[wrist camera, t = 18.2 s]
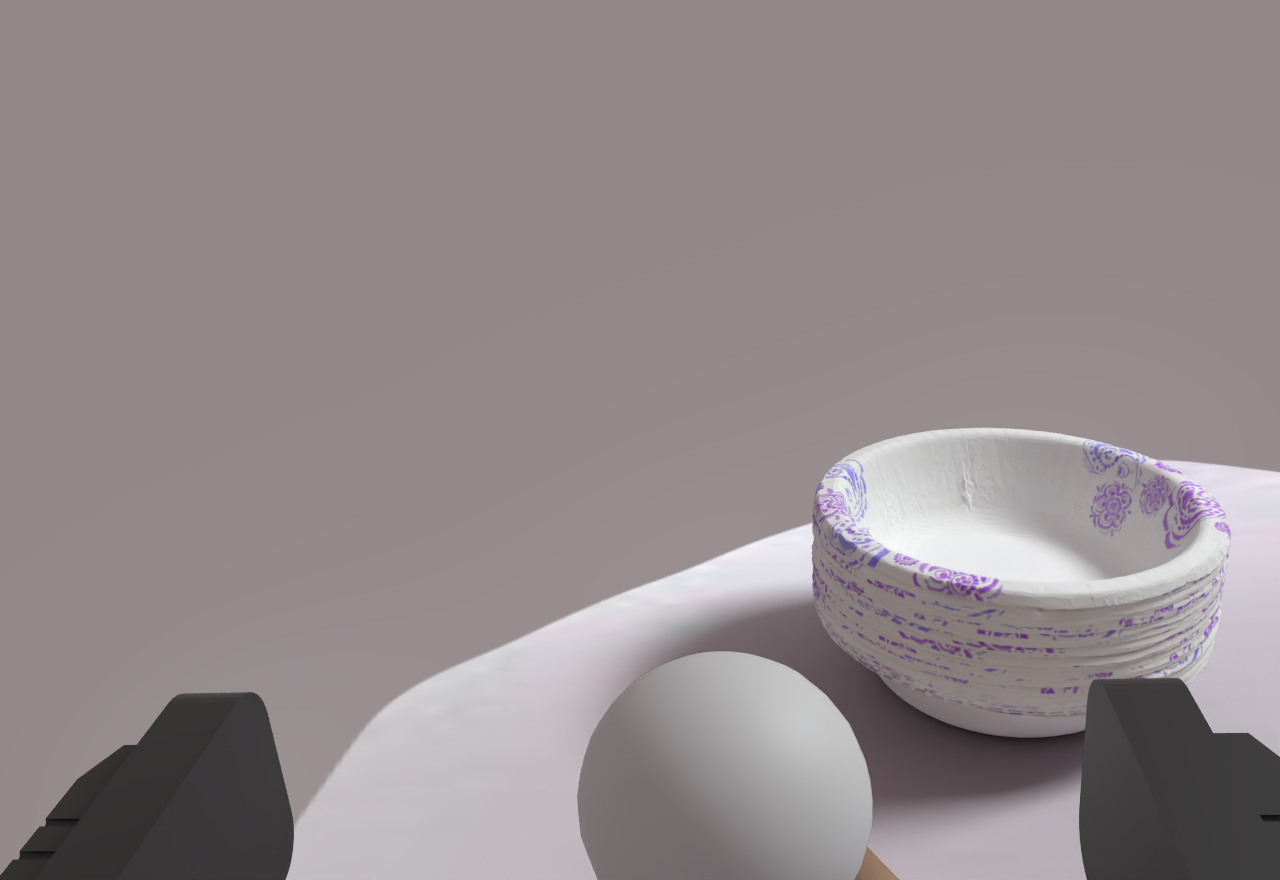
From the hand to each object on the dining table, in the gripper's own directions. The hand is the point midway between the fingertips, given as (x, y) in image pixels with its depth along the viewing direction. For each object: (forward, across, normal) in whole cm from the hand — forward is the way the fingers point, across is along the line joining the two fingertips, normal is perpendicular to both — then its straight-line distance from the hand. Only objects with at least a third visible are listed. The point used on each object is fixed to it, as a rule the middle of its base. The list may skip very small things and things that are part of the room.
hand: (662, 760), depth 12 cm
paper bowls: (+33, -10, +21) cm, 40 cm away
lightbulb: (+11, 0, +18) cm, 20 cm away
